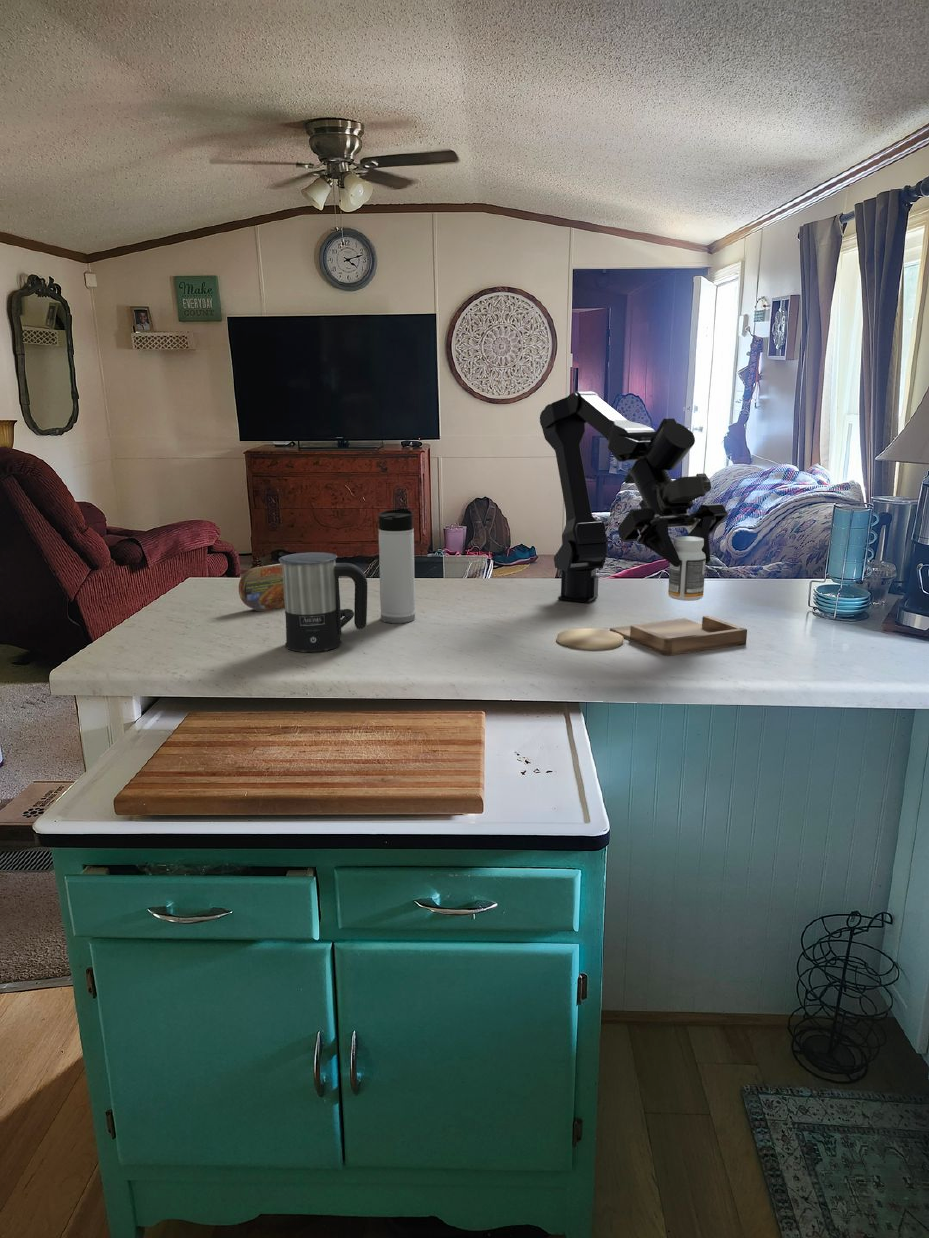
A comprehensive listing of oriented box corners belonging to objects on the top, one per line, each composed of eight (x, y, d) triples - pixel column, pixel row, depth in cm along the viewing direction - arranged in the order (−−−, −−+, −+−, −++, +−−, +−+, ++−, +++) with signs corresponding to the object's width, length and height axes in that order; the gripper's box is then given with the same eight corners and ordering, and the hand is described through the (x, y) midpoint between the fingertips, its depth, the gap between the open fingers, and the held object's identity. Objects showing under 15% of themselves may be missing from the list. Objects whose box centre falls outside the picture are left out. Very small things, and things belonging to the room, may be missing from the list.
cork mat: (547, 644, 144) (547, 641, 144) (570, 628, 154) (570, 625, 153) (611, 653, 139) (612, 649, 139) (631, 636, 149) (631, 633, 149)
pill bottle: (703, 595, 147) (708, 536, 144) (702, 602, 141) (706, 542, 139) (669, 592, 148) (672, 534, 146) (666, 600, 143) (670, 540, 140)
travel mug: (421, 616, 162) (420, 508, 157) (404, 625, 156) (402, 513, 151) (392, 613, 164) (390, 506, 159) (374, 621, 159) (371, 511, 154)
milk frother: (293, 656, 138) (288, 564, 134) (266, 632, 152) (261, 548, 148) (377, 644, 144) (375, 556, 141) (345, 623, 158) (342, 541, 154)
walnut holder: (609, 631, 152) (610, 617, 151) (684, 621, 158) (685, 608, 158) (666, 655, 138) (667, 640, 137) (746, 644, 144) (747, 629, 144)
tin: (245, 614, 164) (242, 570, 162) (237, 611, 166) (234, 567, 164) (315, 602, 173) (313, 560, 171) (308, 599, 176) (306, 558, 173)
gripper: (631, 458, 139) (670, 539, 132) (725, 455, 146) (766, 530, 139) (602, 502, 148) (636, 579, 141) (691, 496, 155) (728, 569, 148)
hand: (693, 564), depth 142 cm, fingers closed on pill bottle, 6 cm apart
